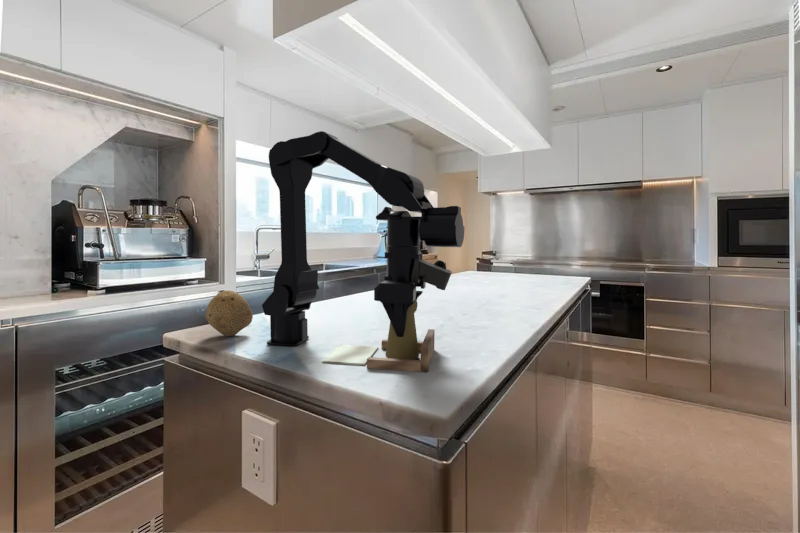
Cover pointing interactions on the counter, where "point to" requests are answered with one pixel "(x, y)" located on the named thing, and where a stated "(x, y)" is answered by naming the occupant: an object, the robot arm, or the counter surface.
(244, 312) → the natural sponge
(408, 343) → the cork
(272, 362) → the counter surface
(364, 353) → the wooden frame with plate
